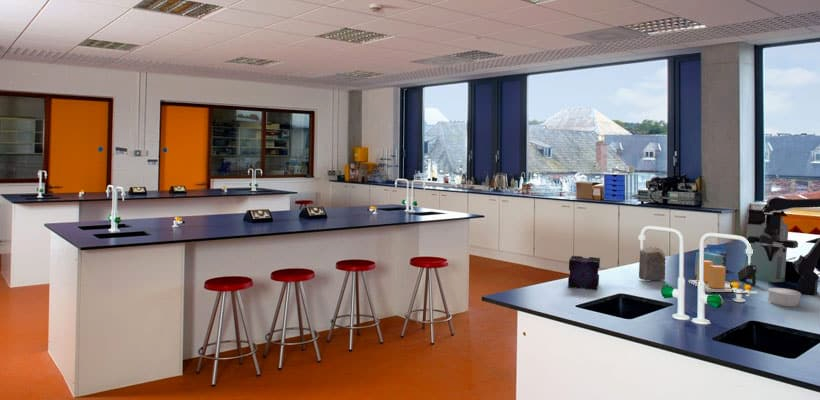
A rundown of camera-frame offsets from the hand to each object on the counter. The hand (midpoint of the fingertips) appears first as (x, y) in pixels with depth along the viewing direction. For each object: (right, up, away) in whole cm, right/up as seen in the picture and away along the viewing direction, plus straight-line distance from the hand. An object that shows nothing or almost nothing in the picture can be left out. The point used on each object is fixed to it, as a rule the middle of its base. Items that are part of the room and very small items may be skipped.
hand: (770, 261), depth 271 cm
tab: (-26, -10, +8) cm, 28 cm away
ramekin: (-9, -15, -24) cm, 30 cm away
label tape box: (-1, -9, +47) cm, 48 cm away
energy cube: (-82, -11, -1) cm, 83 cm away
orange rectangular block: (-26, -11, -4) cm, 28 cm away
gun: (-2, -12, +15) cm, 19 cm away
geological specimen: (-47, -10, +15) cm, 50 cm away
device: (+11, -11, +25) cm, 29 cm away
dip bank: (-23, -12, +2) cm, 26 cm away
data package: (-17, -11, +22) cm, 30 cm away
